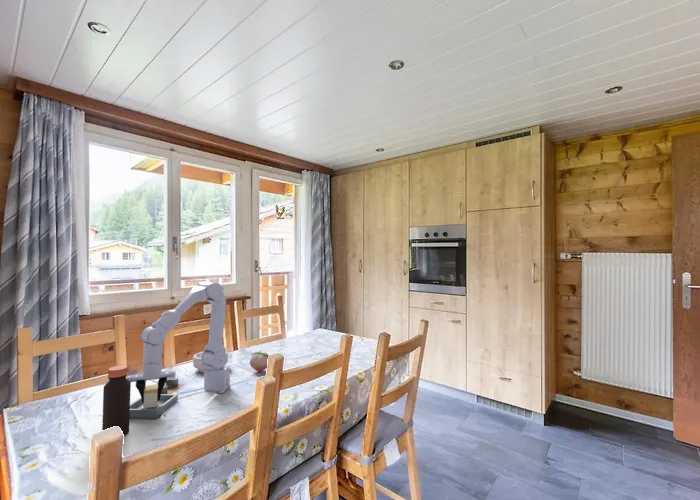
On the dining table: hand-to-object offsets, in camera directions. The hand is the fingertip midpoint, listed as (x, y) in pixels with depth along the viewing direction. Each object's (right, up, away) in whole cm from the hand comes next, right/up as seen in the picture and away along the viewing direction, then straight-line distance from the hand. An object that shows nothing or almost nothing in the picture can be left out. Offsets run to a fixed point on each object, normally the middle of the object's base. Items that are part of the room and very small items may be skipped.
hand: (151, 400), depth 116 cm
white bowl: (+3, -5, +42) cm, 42 cm away
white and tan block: (0, -2, 0) cm, 2 cm away
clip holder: (-3, -4, +15) cm, 16 cm away
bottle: (-1, -3, -16) cm, 16 cm away
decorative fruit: (+27, -5, +41) cm, 49 cm away
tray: (0, -3, 0) cm, 3 cm away
